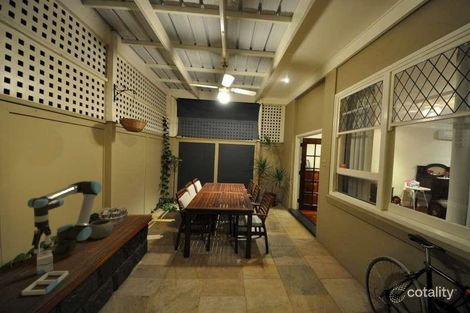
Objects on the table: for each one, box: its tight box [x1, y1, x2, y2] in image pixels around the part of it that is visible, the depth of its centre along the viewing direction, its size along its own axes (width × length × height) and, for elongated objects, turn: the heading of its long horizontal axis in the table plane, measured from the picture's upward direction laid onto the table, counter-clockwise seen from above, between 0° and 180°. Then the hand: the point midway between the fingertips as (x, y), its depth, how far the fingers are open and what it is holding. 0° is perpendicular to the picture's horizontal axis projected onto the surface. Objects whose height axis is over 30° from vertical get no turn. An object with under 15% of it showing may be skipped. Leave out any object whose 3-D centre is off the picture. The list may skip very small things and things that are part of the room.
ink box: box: [36, 249, 54, 276], centre depth 148 cm, size 8×5×15 cm, turn 141°
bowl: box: [88, 219, 114, 240], centre depth 210 cm, size 23×23×15 cm
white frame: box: [21, 270, 69, 296], centre depth 135 cm, size 20×14×4 cm
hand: (42, 248), depth 144 cm, fingers open, 13 cm apart
